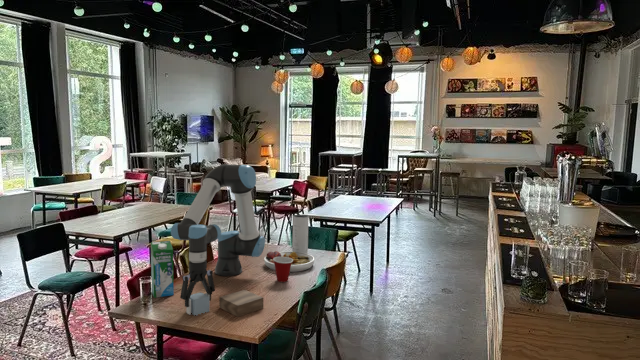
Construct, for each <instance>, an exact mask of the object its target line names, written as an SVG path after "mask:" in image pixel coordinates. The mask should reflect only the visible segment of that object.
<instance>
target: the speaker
mask: <svg viewBox="0 0 640 360" xmlns="http://www.w3.org/2000/svg"><path fill="white" fill-rule="evenodd" d="M309 219H310V217H309V215H307V214H293V216H292V244H291V245H292V246H291V247H292V249H291V250H292V251H291V252H301V253H306V254H309V248H308V247H309Z"/></svg>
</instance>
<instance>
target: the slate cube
mask: <svg viewBox="0 0 640 360" xmlns="http://www.w3.org/2000/svg"><path fill="white" fill-rule="evenodd" d="M190 299H191V313H192V314H191V315H193V316H195V315H196V316H199V315H198V314H200V315H202V314H201V313H203V314H205V312H206V313H209V312H210V309H209V296H208V295H206V294H205V293H203V292H201V291H200V292H196V293H191V296H190Z"/></svg>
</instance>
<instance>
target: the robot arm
mask: <svg viewBox="0 0 640 360" xmlns="http://www.w3.org/2000/svg"><path fill="white" fill-rule="evenodd" d="M256 184H257V174H256V170H255V169H254V167H252V166H251V165H247V164H226V163H225V164H224V163H223V164H220V165H218V166H216V167H214V168H213V169H211V170H210V171H209V172H208V173H207V174H206V175H205V177H204V178H203V180H202V186H201V187H200V189H199V191H198V192H197V195H196V196H195V197H194V200H193V201H192V203H191V204H190V206H189V208H188V209H187V211H186V213H185V215H184V217H183V218H182V220H181V221H180V222H175V223H174V224H172V226H171V228H170V235H171V237H172V238H173V239H174V240H178V241H188V270H189V272H188V274H187V275H182V283H181V284H182V285H181V291H180V299H182V300H183V301H184V307H185V308H186V309H185V310H186V314H187V315H192V314H191V299H190V296H191V295H192V294H193V290H194V288H195V285H197V283H199V282H201V284H202V286H203V288H204V290H205V292H206V293H204V294H206V295H208V296H209V310H210V308H211V306H210V304H211V302H210V301H211V300H212V295H213V293H214V292H215V291H216V288H215V282H214V276H213V275H214V274H215V275H218V276H221V277H231V276H237V275H239V274H242V273H243V266H242V264H241V261H240V260H241V259H240V256H243V257H251V258H259V257H260V256H261V255H262V254H263V252H264V249H265V245H266V238H265V237H264V236H263V235H261V233H260V230H258V228H257V223H256V218H255V217H256V216H255V210H254V203H253V197H252V191H254V187H255V186H256ZM224 187H226V188H227V187H228V188H229V189H230V191H231V193H232V194H233V195H234V199H235V205H236V210H237V211H236V212H237V218H238V222H239V229H240V232H239V231H238V230H229V231H228V230H227V231H223V232H222V229H221V228H220V226H219V225H218V224H216V223H214V224H213V223H211V224H208V225H207V224H206V225H205V224H200V222H201V220H202V219H203V217H204V214H205V213H206V211H207V210H208V208H209V206H210V204H211V202H212V201H213V198H214V197H215V195H216V193H218V192H219V191H220V190H221V188H224ZM216 241H217V261H216V265H215V268H214V271H213V270H211V269H207V268H208V267H207V266H208V263H207V262H208V261H207V258H208V257H207V256H208V255H207V253H208V252H207V250H208V249H207V248H208V247H207V246H208V244H211V243H213V242H216ZM206 277H207V279H206Z"/></svg>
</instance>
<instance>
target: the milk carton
mask: <svg viewBox="0 0 640 360" xmlns="http://www.w3.org/2000/svg"><path fill="white" fill-rule="evenodd" d="M150 269H151V272H150V274H151V277H150V279H151V278H152V284H151V294H152V296H153V299H156V298H162V297H168V296H169V297H170V296H174V293H175V290H174V287H175V286H174V284H175V283H174V249H173V245H172V242H171V240H165V241H152V242H150Z"/></svg>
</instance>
